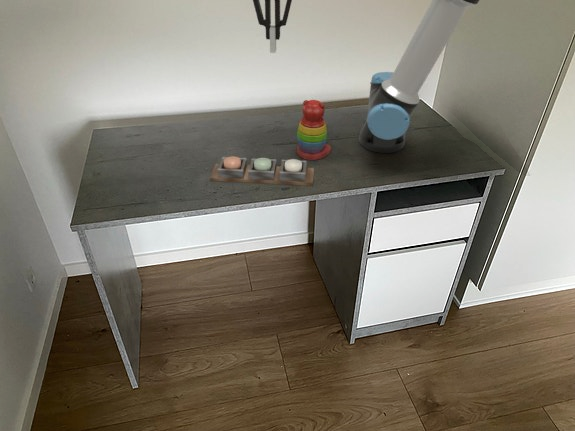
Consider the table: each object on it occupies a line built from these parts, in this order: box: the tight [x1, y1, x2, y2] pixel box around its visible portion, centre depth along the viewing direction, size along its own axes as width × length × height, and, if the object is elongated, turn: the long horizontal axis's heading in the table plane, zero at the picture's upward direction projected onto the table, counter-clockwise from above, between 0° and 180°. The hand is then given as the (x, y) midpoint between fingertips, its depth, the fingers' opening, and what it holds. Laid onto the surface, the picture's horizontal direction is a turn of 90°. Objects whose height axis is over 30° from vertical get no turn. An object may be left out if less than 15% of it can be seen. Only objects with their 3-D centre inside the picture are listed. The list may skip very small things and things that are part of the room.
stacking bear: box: [296, 99, 332, 161], centre depth 145 cm, size 11×10×18 cm
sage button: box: [254, 157, 271, 171], centre depth 138 cm, size 5×5×3 cm
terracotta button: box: [224, 155, 241, 170], centre depth 138 cm, size 5×5×3 cm
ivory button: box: [285, 158, 302, 173], centre depth 137 cm, size 5×5×3 cm
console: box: [210, 156, 315, 187], centre depth 139 cm, size 30×8×4 cm, turn 86°
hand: (273, 51), depth 131 cm, fingers closed
